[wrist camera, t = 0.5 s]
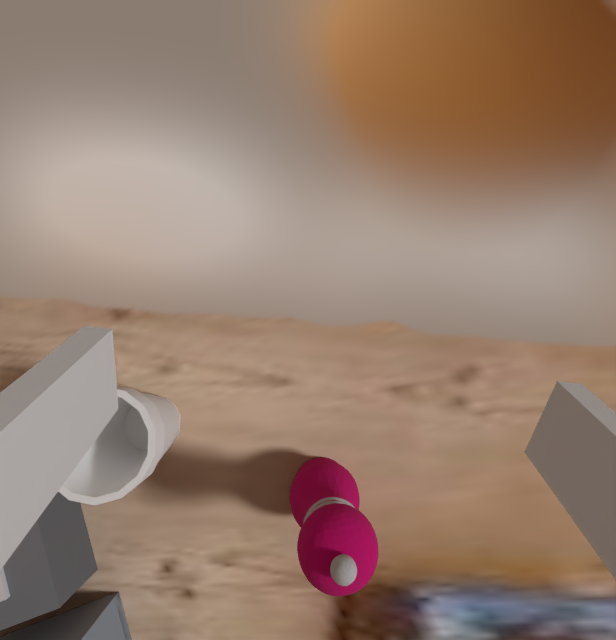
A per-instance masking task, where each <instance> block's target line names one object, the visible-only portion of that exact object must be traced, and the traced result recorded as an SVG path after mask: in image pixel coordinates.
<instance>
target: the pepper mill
mask: <svg viewBox="0 0 616 640" xmlns="http://www.w3.org/2000/svg"><path fill="white" fill-rule="evenodd" d="M290 505H291V510H292V513H293V516H294V518H295V520H296V521H297V523H298V524H299V525H300V527H301V530H300V533H299V538H298V545H297V551H298V557H299V562H300V565H301V568H302V570H303V572H304V574H305V576H306V577H307V579H308V581H309V582H310V583H311V584H312V585H313V586H314V587H315V588H317V589H318V590H320V591H321V592H323V593H325V594H328V595H332V596H345V595H350V594H352V593H355V592H357V591H358V590H360V589H362V588H363V587H364V586H365V585H366V584H367V583H368V582H369V580H370V579H371V577H372V576H373V573H374V571H375V568H376V565H377V560H378V543H377V538H376V535H375V531H374V529H373V527H372V525H371V523H370V522H369V521H368V519H367V518H366V517H365V516H364V515H363V514H362V513H361V512H360V511H359V510H358V509H359V493H358V488H357V484H356V482H355V480H354V478H353V477H352V475H351V474H350V473H349V471H348V470H346V469H345V468H344V467H343V466H341V465H339V464H338V463H337V462H335V461H334V460H331V459H329V458H322V457H319V458H314V459H312V460H309V461H307V462H306V463H305V464H304V465H303V466H302V467H301V468H300V469H299V470H298V472H297V474H296V477H295V479H294V481H293V483H292V486H291V490H290Z"/></svg>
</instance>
